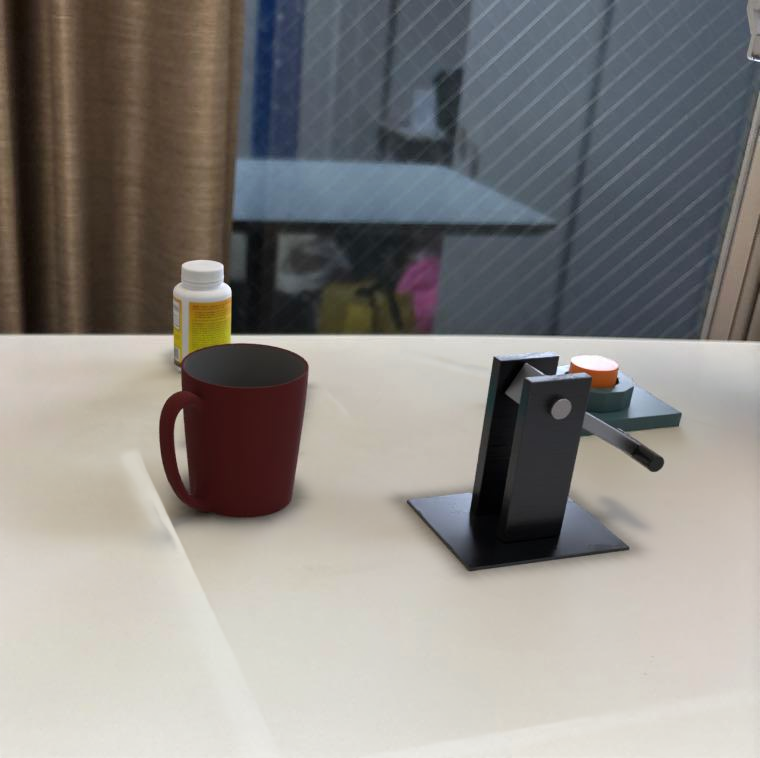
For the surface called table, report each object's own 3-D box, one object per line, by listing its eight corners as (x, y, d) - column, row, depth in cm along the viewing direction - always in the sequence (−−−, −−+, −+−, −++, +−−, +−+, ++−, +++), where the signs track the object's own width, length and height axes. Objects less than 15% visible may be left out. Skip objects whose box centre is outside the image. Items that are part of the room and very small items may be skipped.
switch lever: (609, 452, 76) (630, 424, 75) (651, 482, 72) (673, 453, 71) (493, 385, 70) (514, 355, 70) (531, 413, 66) (553, 381, 66)
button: (598, 372, 93) (602, 353, 92) (624, 388, 90) (628, 368, 89) (558, 375, 92) (562, 356, 91) (583, 391, 89) (587, 372, 88)
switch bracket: (549, 496, 80) (581, 335, 73) (626, 562, 71) (669, 386, 65) (405, 513, 77) (424, 347, 71) (467, 584, 69) (495, 402, 62)
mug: (209, 563, 70) (210, 411, 65) (124, 517, 76) (119, 373, 70) (324, 506, 78) (335, 366, 72) (240, 468, 83) (243, 335, 78)
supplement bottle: (241, 368, 103) (244, 265, 98) (204, 383, 99) (205, 276, 94) (199, 355, 106) (200, 254, 101) (161, 369, 102) (160, 265, 97)
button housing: (610, 394, 98) (618, 353, 96) (676, 436, 90) (687, 393, 88) (495, 405, 96) (502, 363, 94) (552, 449, 87) (561, 405, 85)
